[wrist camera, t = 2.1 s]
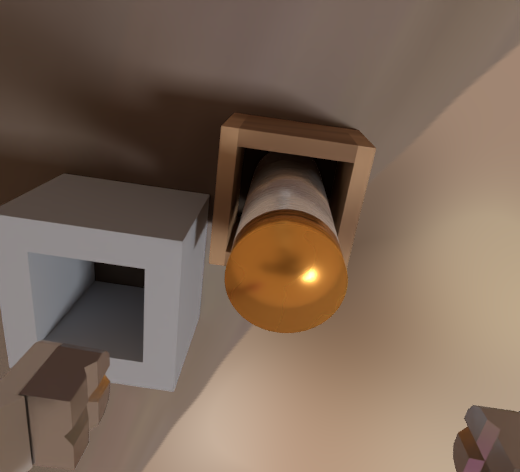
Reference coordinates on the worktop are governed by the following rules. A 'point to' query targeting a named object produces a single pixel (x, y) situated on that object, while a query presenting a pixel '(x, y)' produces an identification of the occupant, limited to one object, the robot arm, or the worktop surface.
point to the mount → (298, 143)
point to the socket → (101, 293)
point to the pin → (286, 249)
